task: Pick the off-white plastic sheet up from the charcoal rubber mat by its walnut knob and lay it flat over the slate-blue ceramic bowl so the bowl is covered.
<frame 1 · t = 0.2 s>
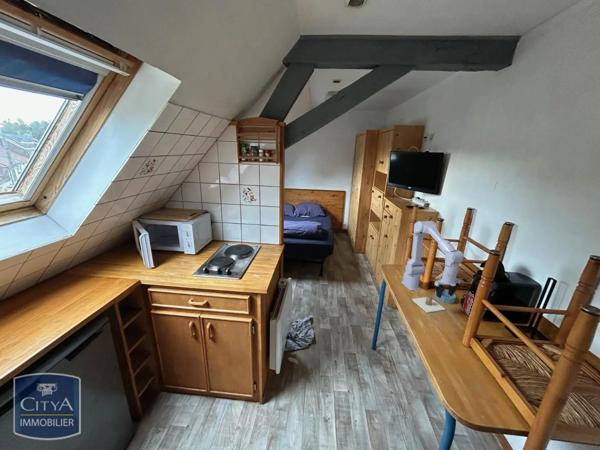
hand: (444, 296, 129), 10 cm above the table, fingers open, 7 cm apart
mat: (427, 305, 137), on the table
soda can: (469, 314, 131), on the table
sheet: (428, 304, 137), resting on mat
bowl: (444, 299, 143), on the table
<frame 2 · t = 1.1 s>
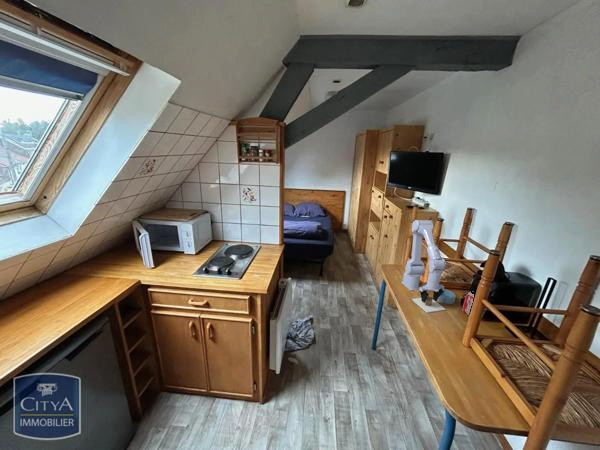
hand: (429, 301, 136), 3 cm above the table, fingers open, 7 cm apart
nothing on the table moved.
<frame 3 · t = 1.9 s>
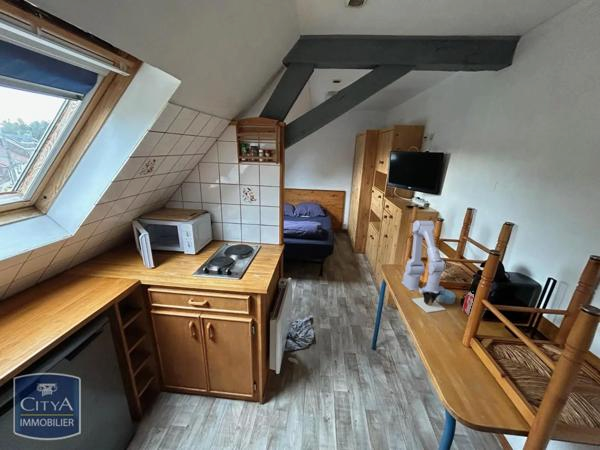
hand: (428, 302, 137), 2 cm above the table, fingers closed on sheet, 3 cm apart
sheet: (428, 304, 137), resting on mat, touching gripper
everything else where it was.
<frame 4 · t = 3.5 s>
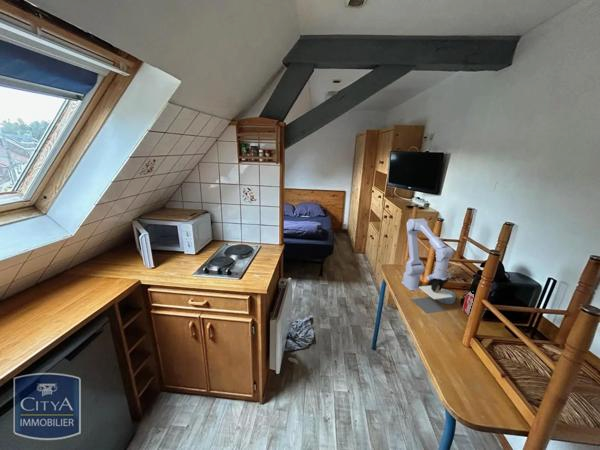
hand: (435, 289, 136), 9 cm above the table, fingers closed on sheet, 3 cm apart
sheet: (435, 292, 137), point 7 cm above the table, touching gripper
everything else where it was.
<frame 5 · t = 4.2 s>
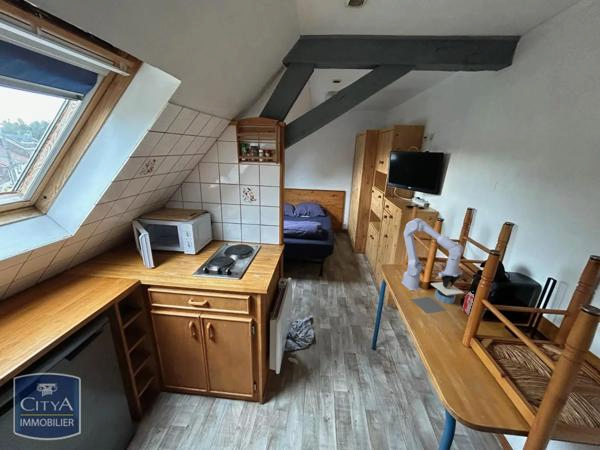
hand: (447, 286, 141), 9 cm above the table, fingers closed on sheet, 3 cm apart
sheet: (446, 288, 141), point 7 cm above the table, touching gripper
everything else where it was.
when the fingers open (6 cm above the table, at t = 4.9 s): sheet stays where it is, resting on bowl.
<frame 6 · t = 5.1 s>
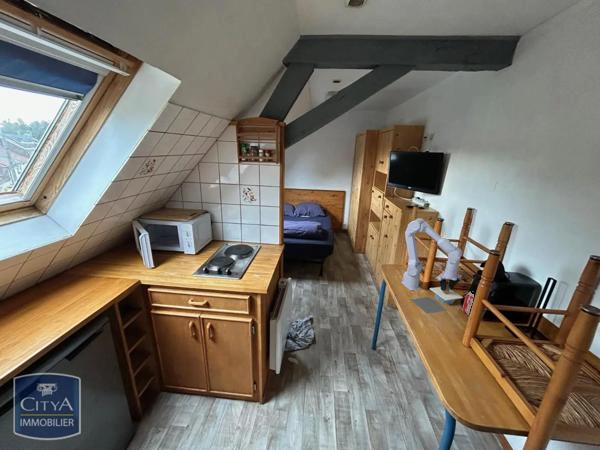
hand: (446, 289, 141), 6 cm above the table, fingers open, 5 cm apart
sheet: (445, 293, 142), point 4 cm above the table, touching bowl
everything else where it was.
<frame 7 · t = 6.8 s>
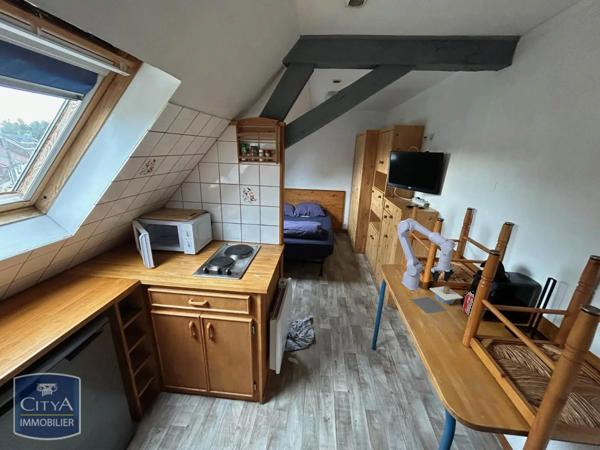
hand: (440, 281, 142), 10 cm above the table, fingers open, 7 cm apart
nothing on the table moved.
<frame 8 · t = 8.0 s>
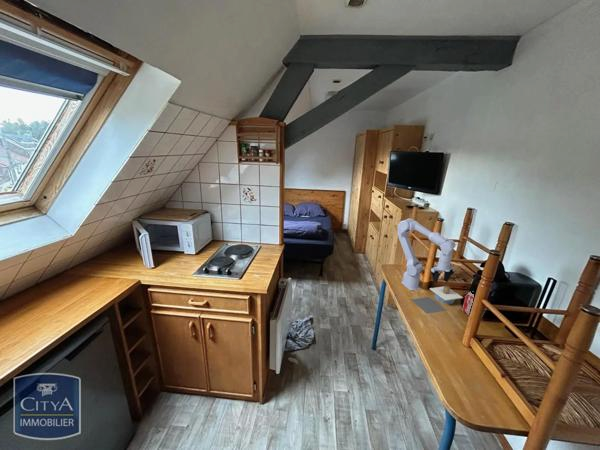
hand: (440, 281, 142), 10 cm above the table, fingers open, 7 cm apart
nothing on the table moved.
at the end: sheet 0.1 cm off-centre on the bowl, point 4.0 cm above the bowl's base; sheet tilted 0°; the gripper is holding nothing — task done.
